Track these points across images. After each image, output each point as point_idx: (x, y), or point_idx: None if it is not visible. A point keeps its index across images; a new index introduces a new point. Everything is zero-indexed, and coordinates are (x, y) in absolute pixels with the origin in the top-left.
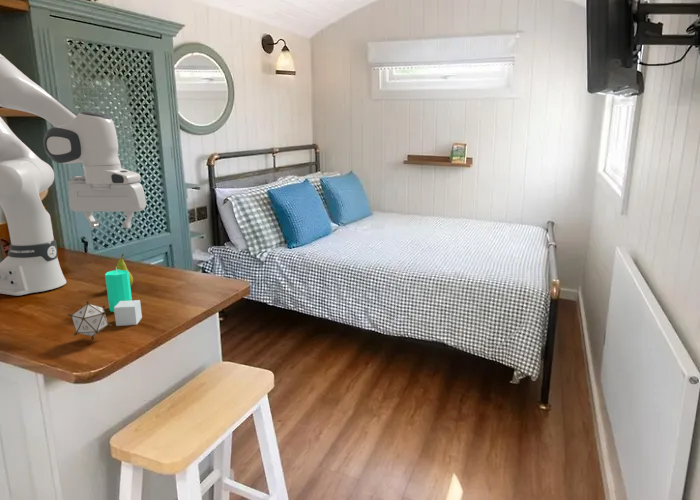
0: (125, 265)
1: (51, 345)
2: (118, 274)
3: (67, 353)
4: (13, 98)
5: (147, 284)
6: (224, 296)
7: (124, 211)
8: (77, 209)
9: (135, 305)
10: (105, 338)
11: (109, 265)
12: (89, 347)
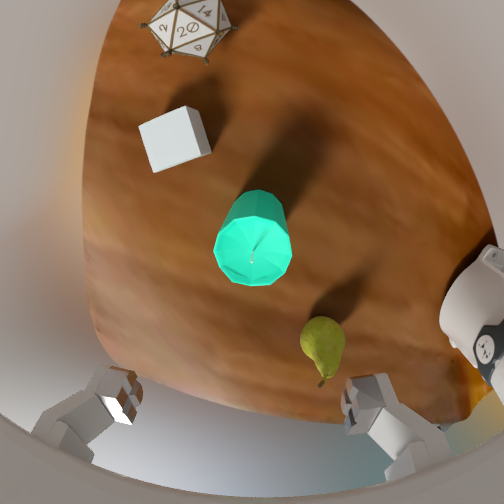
0: (316, 365)
1: (271, 8)
2: (243, 246)
3: None
4: None
5: (286, 356)
6: (96, 301)
7: (38, 438)
8: (496, 448)
9: (141, 133)
10: None
11: None
12: None
